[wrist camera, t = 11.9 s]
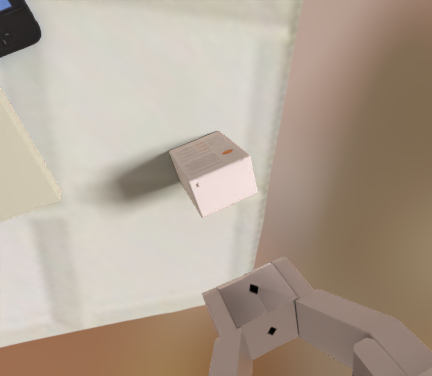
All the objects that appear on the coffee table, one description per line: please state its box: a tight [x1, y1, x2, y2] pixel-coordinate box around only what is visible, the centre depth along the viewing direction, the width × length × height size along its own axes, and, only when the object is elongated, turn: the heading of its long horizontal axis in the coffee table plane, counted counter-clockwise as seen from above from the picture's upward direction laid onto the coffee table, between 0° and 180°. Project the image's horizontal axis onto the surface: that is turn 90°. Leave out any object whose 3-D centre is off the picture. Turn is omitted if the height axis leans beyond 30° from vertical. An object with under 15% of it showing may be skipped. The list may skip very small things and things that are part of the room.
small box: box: [169, 131, 258, 218], centre depth 40 cm, size 8×6×10 cm
